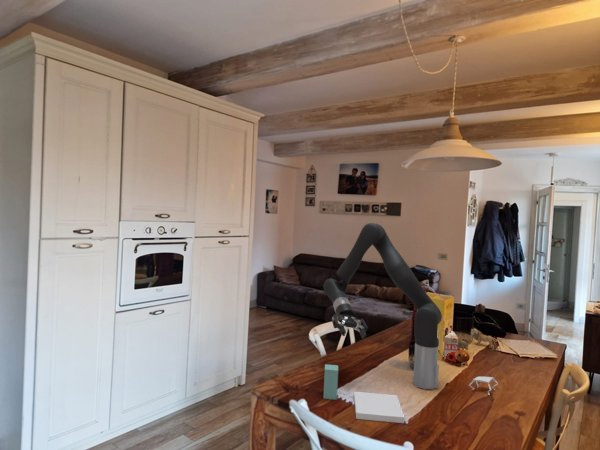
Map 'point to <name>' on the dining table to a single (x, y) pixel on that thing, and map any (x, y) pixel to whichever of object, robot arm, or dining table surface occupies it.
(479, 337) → the lion figurine
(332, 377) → the teal block
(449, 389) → the dining table surface
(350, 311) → the robot arm
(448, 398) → the dining table surface
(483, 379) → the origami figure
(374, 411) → the white board
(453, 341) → the white printed carton
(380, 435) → the dining table surface
